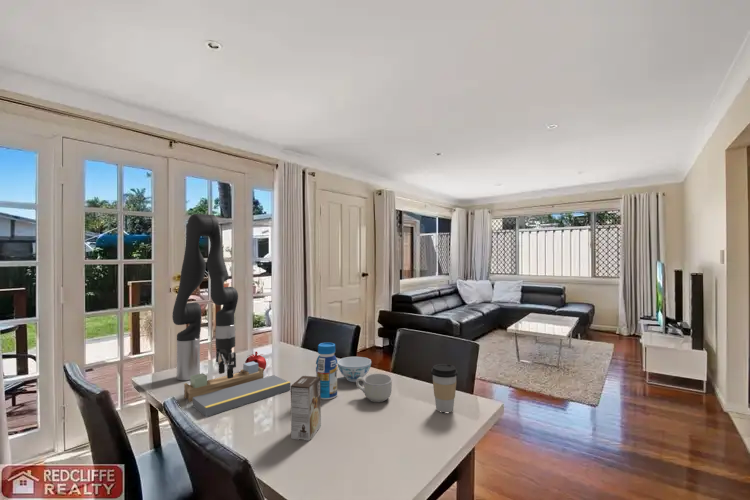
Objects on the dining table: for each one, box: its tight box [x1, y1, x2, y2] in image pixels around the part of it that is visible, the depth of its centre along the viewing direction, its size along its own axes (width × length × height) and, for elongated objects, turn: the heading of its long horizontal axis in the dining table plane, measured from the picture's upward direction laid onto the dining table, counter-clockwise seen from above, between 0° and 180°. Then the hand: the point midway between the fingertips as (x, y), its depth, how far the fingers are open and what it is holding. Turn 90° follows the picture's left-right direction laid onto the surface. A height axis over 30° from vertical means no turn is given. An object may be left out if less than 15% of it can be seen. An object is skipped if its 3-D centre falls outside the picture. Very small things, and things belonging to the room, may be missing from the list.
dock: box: [192, 374, 291, 418], centre depth 138 cm, size 13×33×3 cm, turn 136°
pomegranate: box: [244, 351, 267, 371], centre depth 169 cm, size 10×10×9 cm
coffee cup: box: [430, 363, 459, 413], centre depth 126 cm, size 9×9×15 cm
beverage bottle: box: [315, 342, 339, 401], centre depth 139 cm, size 8×8×20 cm
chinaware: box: [336, 356, 372, 383], centre depth 157 cm, size 15×15×8 cm
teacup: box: [355, 373, 393, 403], centre depth 136 cm, size 14×11×8 cm
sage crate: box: [189, 372, 208, 388], centre depth 139 cm, size 5×5×4 cm
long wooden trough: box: [183, 367, 264, 403], centre depth 147 cm, size 6×30×6 cm, turn 136°
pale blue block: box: [242, 361, 258, 374], centre depth 154 cm, size 5×5×4 cm
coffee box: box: [290, 375, 322, 441], centre depth 110 cm, size 9×6×16 cm
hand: (225, 375), depth 146 cm, fingers open, 8 cm apart
